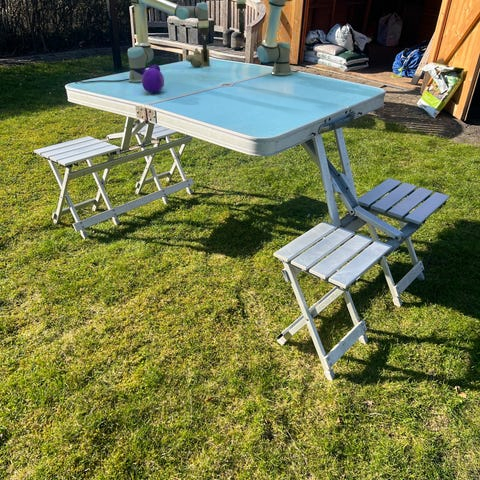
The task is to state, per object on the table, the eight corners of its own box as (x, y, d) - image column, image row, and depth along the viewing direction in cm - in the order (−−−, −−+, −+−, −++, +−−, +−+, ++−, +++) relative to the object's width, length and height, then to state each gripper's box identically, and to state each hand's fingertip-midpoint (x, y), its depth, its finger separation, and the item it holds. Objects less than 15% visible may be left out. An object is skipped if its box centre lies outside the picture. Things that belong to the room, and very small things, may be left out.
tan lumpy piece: (189, 69, 379) (188, 50, 372) (184, 67, 388) (182, 48, 380) (212, 66, 388) (211, 47, 381) (206, 64, 397) (205, 46, 389)
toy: (156, 85, 322) (164, 98, 301) (131, 81, 314) (137, 93, 294) (160, 63, 314) (168, 74, 293) (135, 58, 306) (141, 69, 286)
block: (209, 65, 340) (208, 48, 334) (209, 66, 335) (208, 49, 329) (201, 65, 339) (200, 48, 333) (202, 66, 334) (201, 49, 329)
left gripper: (197, 26, 331) (200, 59, 343) (198, 28, 315) (201, 63, 327) (208, 25, 332) (209, 59, 343) (209, 28, 316) (211, 62, 328)
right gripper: (234, 2, 359) (235, 31, 370) (238, 4, 338) (238, 34, 348) (244, 2, 360) (244, 31, 370) (247, 3, 338) (248, 34, 349)
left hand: (205, 61), depth 335 cm, fingers closed on block, 5 cm apart
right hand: (241, 33), depth 359 cm, fingers open, 13 cm apart
